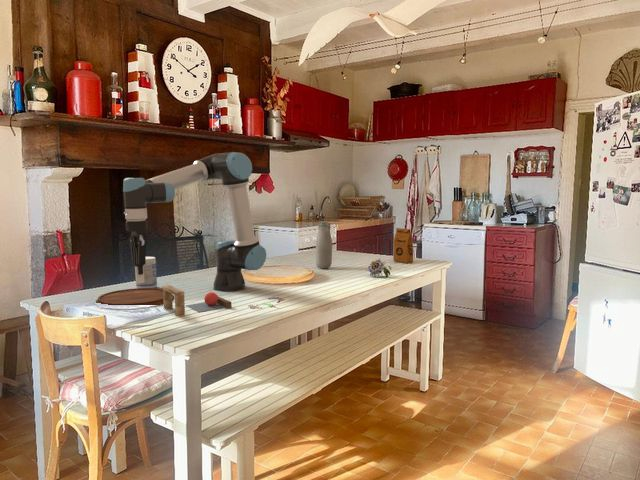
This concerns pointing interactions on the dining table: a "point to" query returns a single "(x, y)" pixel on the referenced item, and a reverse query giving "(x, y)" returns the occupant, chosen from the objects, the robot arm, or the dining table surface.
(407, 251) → the coffee package
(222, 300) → the kerb
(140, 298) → the cutting board
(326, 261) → the grey bottle
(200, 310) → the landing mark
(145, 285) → the supplement tub
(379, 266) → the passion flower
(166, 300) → the bridge
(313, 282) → the dining table surface
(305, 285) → the dining table surface
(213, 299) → the ball
